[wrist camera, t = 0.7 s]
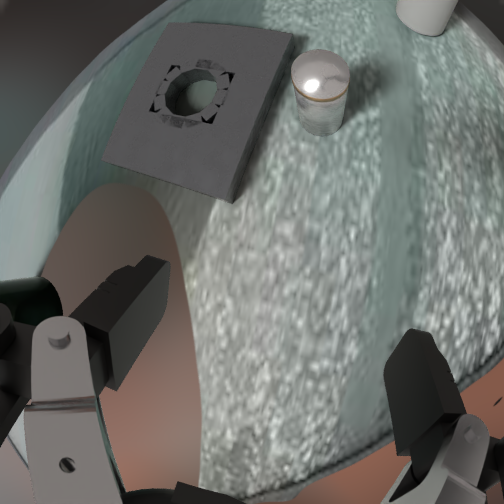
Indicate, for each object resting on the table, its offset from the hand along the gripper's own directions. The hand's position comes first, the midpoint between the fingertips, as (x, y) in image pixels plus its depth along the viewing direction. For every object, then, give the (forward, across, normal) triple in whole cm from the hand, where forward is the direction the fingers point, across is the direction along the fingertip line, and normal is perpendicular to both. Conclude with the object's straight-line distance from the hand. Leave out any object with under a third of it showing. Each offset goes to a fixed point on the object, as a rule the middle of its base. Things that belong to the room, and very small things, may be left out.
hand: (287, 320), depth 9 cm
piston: (+28, -1, -7) cm, 29 cm away
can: (+35, -12, -27) cm, 46 cm away
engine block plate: (+30, +14, -5) cm, 34 cm away
